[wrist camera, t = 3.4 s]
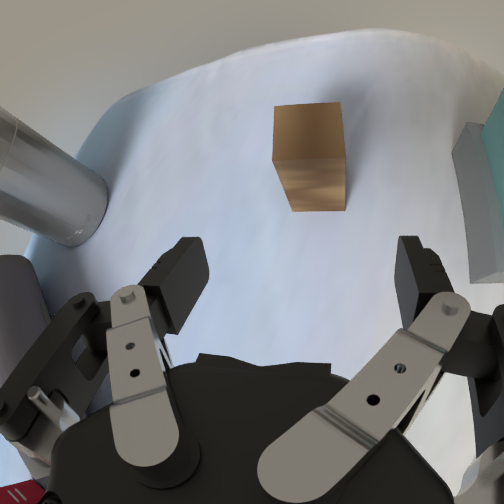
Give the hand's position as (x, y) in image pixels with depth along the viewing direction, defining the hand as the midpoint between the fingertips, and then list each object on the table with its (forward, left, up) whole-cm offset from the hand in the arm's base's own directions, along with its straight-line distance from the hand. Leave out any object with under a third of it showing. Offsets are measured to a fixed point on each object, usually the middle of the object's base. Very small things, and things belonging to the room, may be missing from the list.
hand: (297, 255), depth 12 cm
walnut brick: (-7, +6, -13) cm, 16 cm away
